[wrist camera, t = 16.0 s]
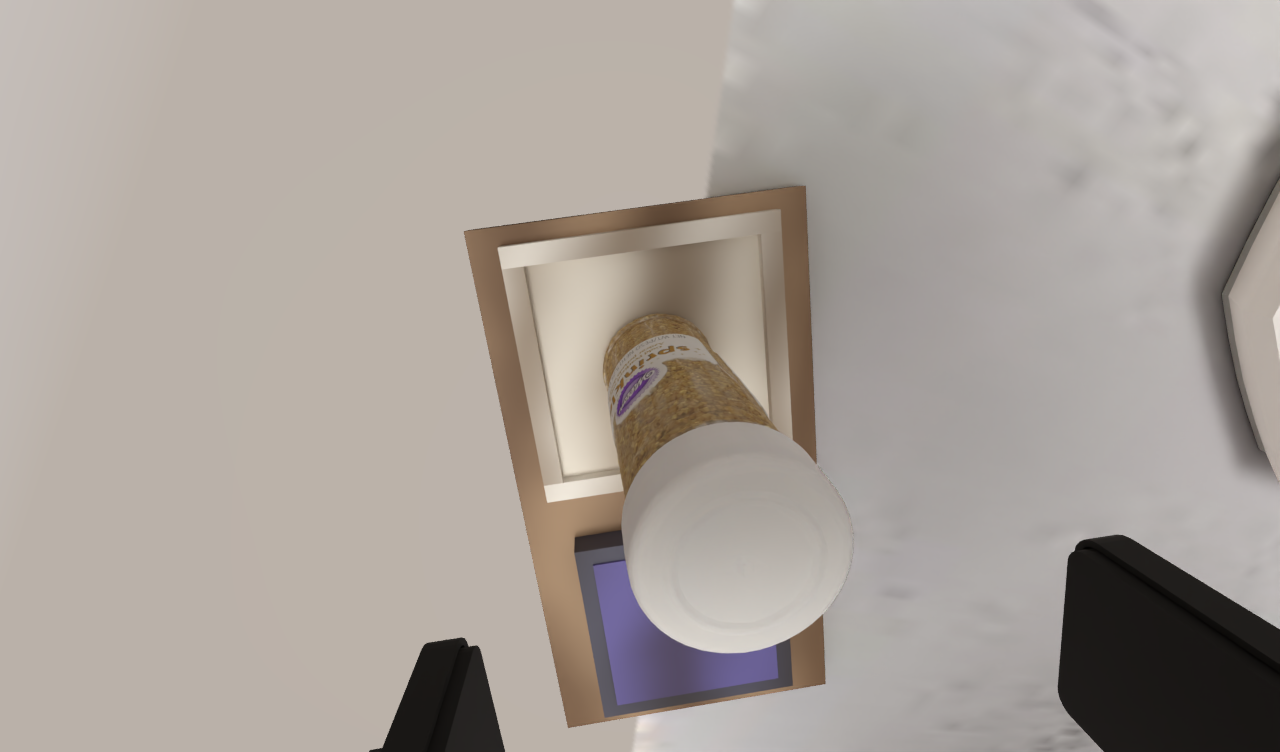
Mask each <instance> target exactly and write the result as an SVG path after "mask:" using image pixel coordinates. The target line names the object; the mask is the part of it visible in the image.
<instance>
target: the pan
mask: <svg viewBox="0 0 1280 752" xmlns="http://www.w3.org/2000/svg"><path fill="white" fill-rule="evenodd" d="M1222 300H1223V306H1224V312H1225V319H1226V325H1227V331H1228V338H1229V343H1230V348H1231V352H1232V357H1233V362H1234V367H1235V372H1236V377H1237V381H1238V384H1239V388H1240V391H1241V395H1242V398H1243V401H1244V405H1245V408H1246V412H1247V415H1248V418H1249V421H1250V424H1251V427H1252V430H1253V433H1254V436H1255V438H1256V441H1257V444H1258V447H1259V449H1260V450H1262V451H1263V452H1265V453H1266V455H1267V457H1268V459H1269V461H1270V464H1271V466H1272V468H1273V471H1274V473H1275V475H1276V477H1277V480H1278V482H1279V484H1280V178H1279V180H1278V182H1277V184H1276V186H1275V187H1274V189H1273V191H1272V193H1271V195H1270V197H1269V199H1268V200H1267V202H1266V204H1265V206H1264V208H1263V210H1262V212H1261V214H1260V216H1259V218H1258V220H1257V222H1256V224H1255V226H1254V228H1253V230H1252V232H1251V234H1250V236H1249V238H1248V240H1247V242H1246V244H1245V246H1244V248H1243V250H1242V252H1241V254H1240V256H1239V259H1238V261H1237V263H1236V265H1235V267H1234V269H1233V271H1232V273H1231V276H1230V278H1229V280H1228V282H1227V284H1226V286H1225V288H1224V291H1223V293H1222Z"/></svg>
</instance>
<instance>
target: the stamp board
mask: <svg viewBox="0 0 1280 752" xmlns="http://www.w3.org/2000/svg"><path fill="white" fill-rule="evenodd" d="M464 235H465V240H466V245H467V249H468V253H469V259H470V263H471V268H472V273H473V277H474V283H475V287H476V292H477V297H478V302H479V306H480V311H481V316H482V321H483V325H484V329H485V335H486V340H487V344H488V349H489V354H490V359H491V363H492V368H493V373H494V378H495V383H496V387H497V392H498V396H499V402H500V406H501V411H502V416H503V420H504V425H505V430H506V435H507V439H508V444H509V449H510V454H511V459H512V463H513V468H514V473H515V478H516V482H517V487H518V491H519V496H520V501H521V506H522V510H523V515H524V520H525V525H526V530H527V535H528V539H529V544H530V548H531V554H532V559H533V563H534V568H535V573H536V578H537V582H538V587H539V592H540V597H541V601H542V605H543V611H544V616H545V620H546V625H547V630H548V634H549V639H550V644H551V648H552V653H553V658H554V663H555V668H556V673H557V677H558V682H559V687H560V691H561V696H562V701H563V706H564V711H565V715H566V720H567V725H568V728H570V727H576V726H582V725H588V724H593V723H599V722H605V721H611V720H617V719H623V718H629V717H635V716H641V715H646V714H652V713H658V712H664V711H670V710H676V709H682V708H687V707H693V706H699V705H705V704H711V703H717V702H722V701H728V700H734V699H740V698H746V697H752V696H758V695H763V694H769V693H775V692H781V691H787V690H793V689H799V688H804V687H810V686H816V685H822V684H825V660H824V635H823V614H822V615H821V616H820V617H819V618H818V619H817V620H816V621H815V622H814V623H813V624H811V625H810V626H809V627H807V628H806V629H805V630H803V631H801V632H800V633H798V634H797V635H795V636H793V637H791V638H789V639H787V640H786V641H783V642H781V643H778V644H776V645H773V646H771V647H767V648H764V649H761V650H756V651H751V652H746V653H716V652H709V651H703V650H699V649H696V648H693V647H689V646H686V645H684V644H682V643H680V642H678V641H676V640H674V639H672V638H671V637H669V636H668V635H666V634H665V633H663V632H662V631H661V630H660V629H659V628H657V627H656V626H655V625H654V624H653V623H652V622H651V621H650V620H649V618H648V617H647V616H646V615H645V613H644V612H643V610H642V609H641V607H640V606H639V604H638V602H637V600H636V598H635V596H634V593H633V591H632V588H631V585H630V580H629V576H628V571H627V565H626V560H625V554H624V545H623V537H622V526H621V522H622V512H623V506H624V502H625V496H624V490H623V485H622V479H621V473H620V467H619V464H618V457H617V450H616V447H615V444H614V440H613V435H612V428H611V420H610V413H609V407H608V391H607V388H606V386H605V383H604V379H603V363H604V357H605V353H606V351H607V348H608V346H609V343H610V341H611V339H612V338H613V337H614V336H615V335H616V333H617V332H618V331H619V330H620V329H622V328H623V327H625V326H626V325H627V324H629V323H631V322H632V321H633V320H636V319H638V318H640V317H643V316H646V315H651V314H668V315H676V316H679V317H681V318H684V319H686V320H688V321H690V322H691V323H693V324H694V325H695V326H696V327H697V328H698V329H699V330H700V331H701V332H702V333H703V334H704V336H705V337H706V338H707V340H708V343H709V345H710V347H711V349H712V350H713V351H714V352H715V353H717V354H719V355H720V356H721V357H722V358H723V360H724V361H725V362H726V363H727V364H728V365H729V367H730V368H731V369H732V370H733V371H734V372H735V374H736V375H737V376H738V377H739V378H740V379H741V380H742V382H743V383H744V384H745V385H746V386H747V388H748V389H749V390H750V391H751V392H752V394H753V395H754V396H755V397H756V399H757V400H758V401H759V402H760V404H761V405H762V407H763V408H764V409H765V411H766V413H767V414H768V416H769V419H770V421H771V422H772V423H773V424H774V426H775V427H776V428H777V430H778V431H779V432H781V433H782V434H784V435H786V436H787V437H789V438H790V439H792V440H793V441H794V442H796V443H797V444H798V445H800V446H801V447H802V448H803V449H804V450H805V451H806V452H807V453H808V454H809V456H810V457H811V458H812V459H813V461H814V462H815V463H816V464H817V459H816V434H815V409H814V384H813V359H812V334H811V309H810V284H809V259H808V234H807V209H806V186H795V187H787V188H780V189H772V190H765V191H757V192H750V193H743V194H735V195H728V196H720V197H713V198H705V199H698V200H691V201H683V202H676V203H668V204H660V205H653V206H646V207H638V208H630V209H623V210H616V211H608V212H601V213H593V214H586V215H578V216H571V217H563V218H556V219H548V220H541V221H534V222H526V223H519V224H512V225H503V226H496V227H489V228H481V229H474V230H468V231H464Z"/></svg>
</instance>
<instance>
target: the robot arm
mask: <svg viewBox="0 0 1280 752" xmlns="http://www.w3.org/2000/svg"><path fill="white" fill-rule="evenodd" d="M1058 693H1059V697H1060V700H1061V702H1062V704H1063V706H1064V708H1065V709H1066V711H1067V712H1068V714H1069V715H1070V716H1071V717H1072V718H1073V719H1074V720H1075V721H1076V723H1077V724H1078V725H1079V726H1080V727H1081V728H1082V729H1083V730H1084V731H1085V732H1086V733H1087V734H1088V735H1089V736H1090V737H1091V738H1092V740H1093V741H1094V742H1095V743H1096V744H1097V745H1098V746H1099V747H1100V748H1101V749H1102V750H1103V751H1104V752H1280V629H1278V628H1276V627H1275V626H1273V625H1271V624H1270V623H1268V622H1266V621H1265V620H1263V619H1262V618H1260V617H1258V616H1257V615H1255V614H1253V613H1252V612H1250V611H1248V610H1247V609H1245V608H1244V607H1242V606H1240V605H1239V604H1237V603H1235V602H1234V601H1232V600H1230V599H1229V598H1227V597H1226V596H1224V595H1222V594H1221V593H1219V592H1217V591H1216V590H1214V589H1212V588H1211V587H1209V586H1208V585H1206V584H1204V583H1203V582H1201V581H1199V580H1198V579H1196V578H1194V577H1193V576H1191V575H1190V574H1188V573H1186V572H1185V571H1183V570H1181V569H1180V568H1178V567H1176V566H1175V565H1173V564H1172V563H1170V562H1168V561H1167V560H1165V559H1163V558H1162V557H1160V556H1158V555H1157V554H1155V553H1154V552H1152V551H1150V550H1149V549H1147V548H1145V547H1144V546H1142V545H1140V544H1139V543H1137V542H1136V541H1134V540H1132V539H1131V538H1128V537H1126V536H1124V535H1112V536H1105V537H1099V538H1093V539H1086V540H1083V541H1080V542H1079V543H1078V544H1077V545H1076V548H1075V551H1074V552H1072V553H1071V554H1070V555H1069V558H1068V565H1067V578H1066V590H1065V603H1064V615H1063V628H1062V641H1061V653H1060V666H1059V678H1058ZM369 752H505V749H504V745H503V741H502V737H501V733H500V729H499V725H498V721H497V716H496V712H495V708H494V704H493V700H492V696H491V692H490V687H489V684H488V679H487V675H486V671H485V668H484V663H483V659H482V654H481V651H480V649H479V647H478V646H470V647H468V644H467V641H466V640H465V638H457V639H450V640H443V641H437V642H431V643H427V644H425V645H424V646H423V648H422V650H421V652H420V655H419V657H418V660H417V662H416V665H415V667H414V670H413V672H412V675H411V677H410V680H409V682H408V685H407V688H406V690H405V693H404V695H403V698H402V700H401V703H400V705H399V708H398V710H397V713H396V715H395V718H394V720H393V723H392V725H391V728H390V731H389V733H388V735H387V738H386V741H385V743H384V745H383V748H380V749H374V750H370V751H369Z"/></svg>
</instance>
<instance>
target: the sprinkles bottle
mask: <svg viewBox="0 0 1280 752" xmlns="http://www.w3.org/2000/svg"><path fill="white" fill-rule="evenodd" d="M603 379H604V383H605V386H606V388H607V391H608V407H609V413H610V420H611V428H612V435H613V440H614V444H615V447H616V450H617V457H618V464H619V467H620V473H621V479H622V485H623V490H624V496H625V502H624V506H623V512H622V522H621V526H622V537H623V545H624V554H625V560H626V565H627V571H628V576H629V580H630V585H631V588H632V591H633V593H634V596H635V598H636V600H637V602H638V604H639V606H640V607H641V609H642V610H643V612H644V613H645V615H646V616H647V617H648V618H649V620H650V621H651V622H652V623H653V624H654V625H655V626H656V627H657V628H659V629H660V630H661V631H662V632H663V633H665V634H666V635H668V636H669V637H671V638H672V639H674V640H676V641H678V642H680V643H682V644H684V645H686V646H689V647H693V648H696V649H699V650H703V651H709V652H716V653H746V652H751V651H756V650H761V649H764V648H767V647H771V646H773V645H776V644H778V643H781V642H783V641H786V640H787V639H789V638H791V637H793V636H795V635H797V634H798V633H800V632H801V631H803V630H805V629H806V628H807V627H809V626H810V625H811V624H813V623H814V622H815V621H816V620H817V619H818V618H819V617H820V616H821V615H822V614H823V613H824V612H825V611H826V610H827V609H828V608H829V607H830V605H831V604H832V603H833V601H834V600H835V598H836V597H837V595H838V594H839V592H840V590H841V588H842V586H843V584H844V582H845V580H846V578H847V575H848V572H849V569H850V566H851V562H852V556H853V546H854V539H853V530H852V524H851V519H850V516H849V513H848V511H847V508H846V505H845V503H844V501H843V500H842V498H841V496H840V495H839V493H838V492H837V490H836V489H835V487H834V486H833V485H832V483H831V482H830V481H829V479H828V478H827V477H826V476H825V474H824V473H823V472H822V470H821V469H820V468H819V467H818V466H817V464H816V463H815V462H814V461H813V459H812V458H811V457H810V456H809V454H808V453H807V452H806V451H805V450H804V449H803V448H802V447H801V446H800V445H798V444H797V443H796V442H794V441H793V440H792V439H790V438H789V437H787V436H786V435H784V434H782V433H781V432H779V431H778V430H777V428H776V427H775V426H774V424H773V423H772V422H771V421H770V419H769V416H768V414H767V413H766V411H765V409H764V408H763V407H762V405H761V404H760V402H759V401H758V400H757V399H756V397H755V396H754V395H753V394H752V392H751V391H750V390H749V389H748V388H747V386H746V385H745V384H744V383H743V382H742V380H741V379H740V378H739V377H738V376H737V375H736V374H735V372H734V371H733V370H732V369H731V368H730V367H729V365H728V364H727V363H726V362H725V361H724V360H723V358H722V357H721V356H720V355H719V354H717V353H715V352H714V351H713V350H712V349H711V347H710V345H709V343H708V340H707V338H706V337H705V336H704V334H703V333H702V332H701V331H700V330H699V329H698V328H697V327H696V326H695V325H694V324H693V323H691V322H690V321H688V320H686V319H684V318H681V317H679V316H676V315H668V314H651V315H646V316H643V317H640V318H638V319H636V320H633V321H632V322H631V323H629V324H627V325H626V326H625V327H623V328H622V329H620V330H619V331H618V332H617V333H616V335H615V336H614V337H613V338H612V339H611V341H610V343H609V346H608V348H607V351H606V353H605V357H604V363H603Z"/></svg>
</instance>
